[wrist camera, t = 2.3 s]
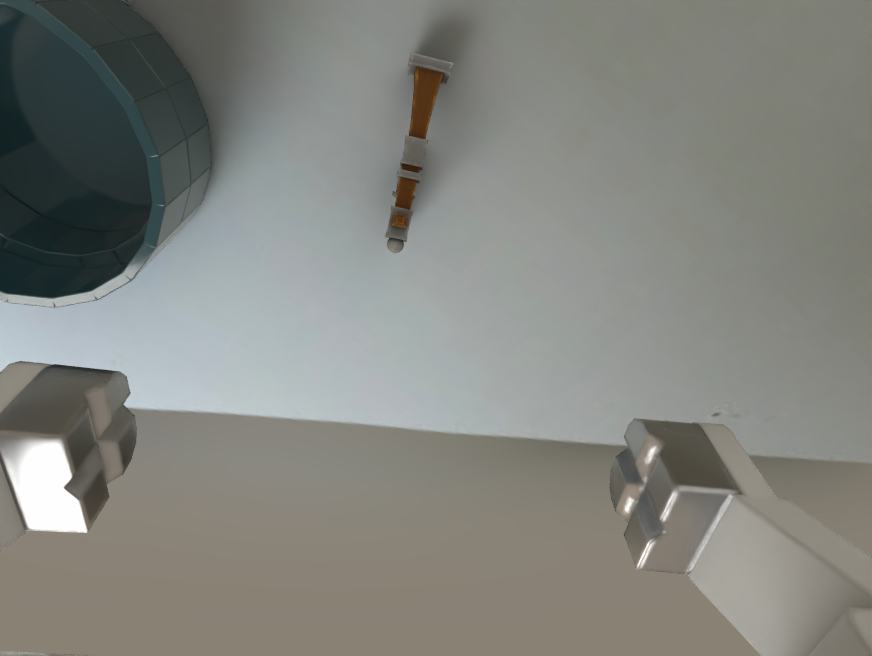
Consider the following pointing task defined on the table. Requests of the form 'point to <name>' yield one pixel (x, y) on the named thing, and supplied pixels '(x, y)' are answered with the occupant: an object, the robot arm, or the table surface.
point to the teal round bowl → (91, 149)
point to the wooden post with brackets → (415, 142)
